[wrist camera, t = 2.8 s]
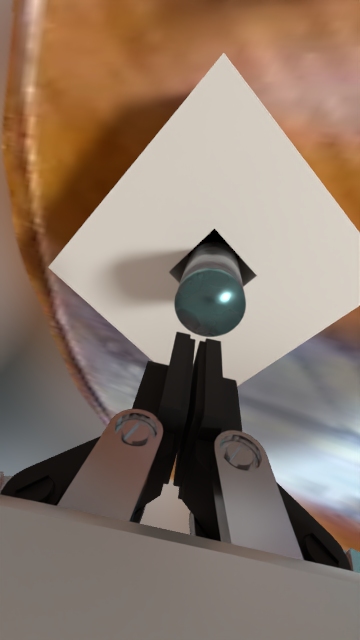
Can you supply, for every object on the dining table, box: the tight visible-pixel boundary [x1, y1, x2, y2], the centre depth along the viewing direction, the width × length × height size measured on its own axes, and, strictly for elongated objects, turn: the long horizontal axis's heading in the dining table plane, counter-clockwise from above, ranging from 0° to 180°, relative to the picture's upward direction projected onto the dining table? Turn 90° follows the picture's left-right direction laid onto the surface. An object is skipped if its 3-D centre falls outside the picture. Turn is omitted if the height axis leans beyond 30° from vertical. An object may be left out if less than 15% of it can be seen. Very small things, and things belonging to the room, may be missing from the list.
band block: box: [48, 53, 360, 386], centre depth 26 cm, size 18×18×8 cm
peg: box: [174, 242, 246, 337], centre depth 21 cm, size 4×4×8 cm
